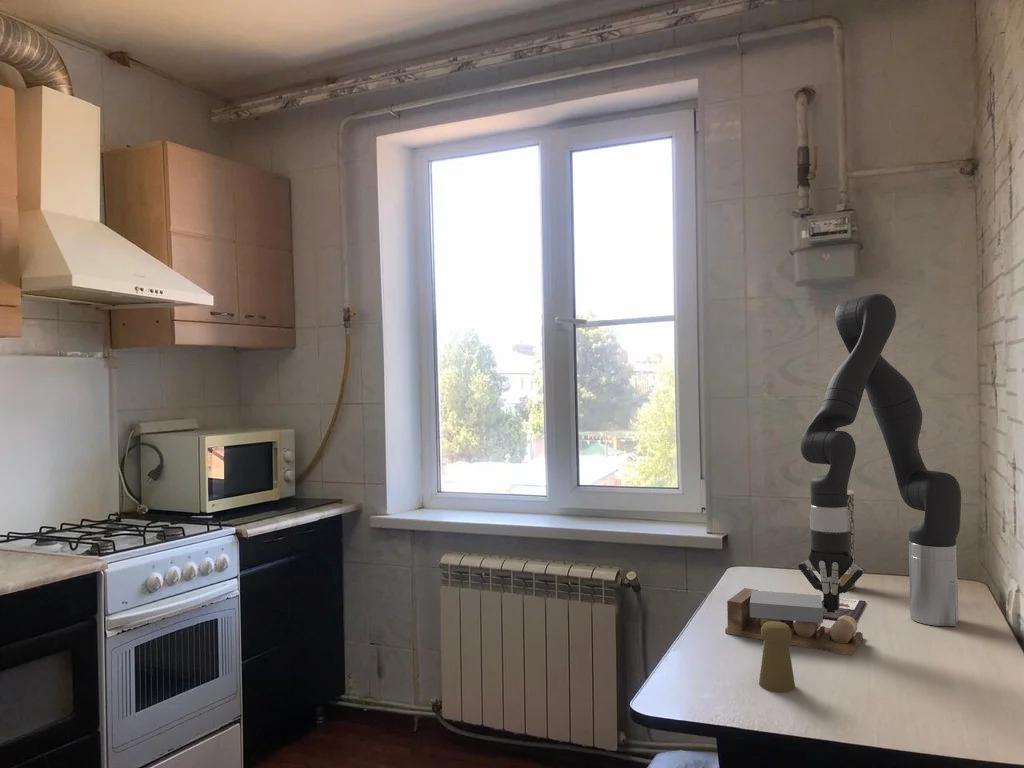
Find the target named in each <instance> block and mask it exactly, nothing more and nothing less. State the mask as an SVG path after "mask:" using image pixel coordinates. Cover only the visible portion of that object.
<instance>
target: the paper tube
mask: <svg viewBox="0 0 1024 768" xmlns="http://www.w3.org/2000/svg"><path fill="white" fill-rule="evenodd" d="M854 497H855V493H854V490H850V489H847V498H848V512H849V520H850V554H851V556H852V558H853V563H854V564H855V565H856V563H855V562H856V559H855V558H856V555H855V552H856V551H855V550H856V549H855V545H856V543H855V498H854ZM850 571H851V568H849V569H848V570H847V571H846V573H845V574H844V575H843V576H842V577H841V583H840V586H842V585H844V584H845V583H846V582H847V581H848V580H849V579H850V578H851V577H852V576H851V575H850ZM831 581H832V577H831ZM855 587H856V582H855V583H854V584H853V585H852V587H851V588H850V589H849V590H852V589H854V588H855ZM831 589H832V583H831Z"/></svg>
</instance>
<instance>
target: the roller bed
mask: <svg viewBox="0 0 1024 768" xmlns="http://www.w3.org/2000/svg"><path fill="white" fill-rule="evenodd" d="M752 590H754V591H759V589H753V588H748V587H747V588H746V587H744V588H743V589H741V590H740V591H739V592H737V593H735V594H734V595H733V596H732V597H730V598H729V599H728V600H726V601H727V603H726V604H727V605H726V607H727V609H726V610H727V613H726V614H727V616H726V617H727V626H726V627H725V628H724V630H725V631H724V632H725V634H729V635H733V636H739V637H746V638H752V639H756V640H762V641H764V640H763V639H762V636H761V627H762V626H761V622H760V621H761V618H755V617H750V598H751V593H752ZM784 623H785V624H787V625H788V626H789V627H790V629H791V631H792V638H791V641H790V642H789V646H790V645H791V646H797V647H802V646H803V648H807V647H809V648H808V649H814V650H820V651H826V652H832V653H836V654H843V655H849V656H852V655H853V654H854V652H855V650H856V649H857V647H859V646H858V645H860V643H861V641H862V640H863V639H864V638H863V637H864V636H863V635H864V634H863V632H860V631H857V630H858V623H857V620H856V621H855V620H854V619H853V618H852V617H850V616H847V615H843V616H841V617H839V618H838V619H837V621H835V622H834V623H833V625H832V626H831V627H826V626H823V625H822V623H816V622H803V621H791V620H785V621H784ZM821 625H822V626H821Z"/></svg>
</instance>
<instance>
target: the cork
mask: <svg viewBox="0 0 1024 768" xmlns="http://www.w3.org/2000/svg"><path fill="white" fill-rule="evenodd" d="M761 636H762V639H763V640H762V639H761V640H762V641H763V648H762V655H761V657H762V658H761V665H760V673H759V679H758V680H759V683H758V685H759V687H761V688H762V689H764V690H766V691H770V692H773V693H789V692H793V691H794V690H796V684H795V677H794V670H793V664H792V663H793V662H792V656H791V651H790V644H789V642H790V641H791V638H792V631H791V629H790V627H789V626H788V625H787V624H785V623H782V622H776V621H770V622H766V623H764V624H763V625H762V627H761Z"/></svg>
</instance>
